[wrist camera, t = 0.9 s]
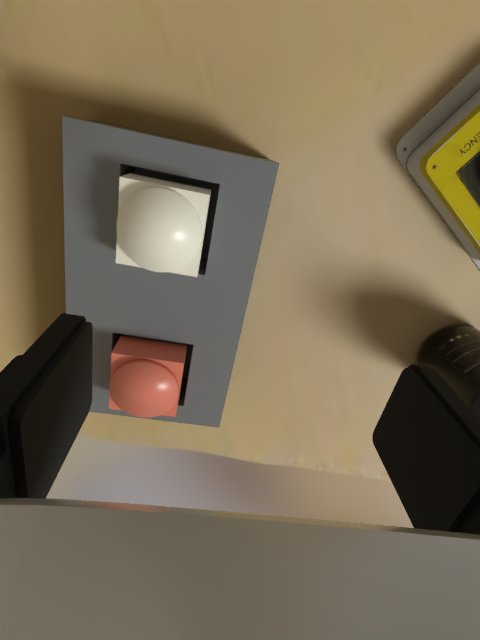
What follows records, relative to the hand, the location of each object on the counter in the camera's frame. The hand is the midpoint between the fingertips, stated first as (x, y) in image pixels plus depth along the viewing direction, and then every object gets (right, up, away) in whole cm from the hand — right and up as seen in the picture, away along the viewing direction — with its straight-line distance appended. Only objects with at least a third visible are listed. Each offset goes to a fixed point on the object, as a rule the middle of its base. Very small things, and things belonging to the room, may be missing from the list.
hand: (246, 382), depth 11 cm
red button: (-7, -2, +19) cm, 20 cm away
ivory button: (-5, +9, +13) cm, 17 cm away
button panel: (-6, +5, +20) cm, 22 cm away
